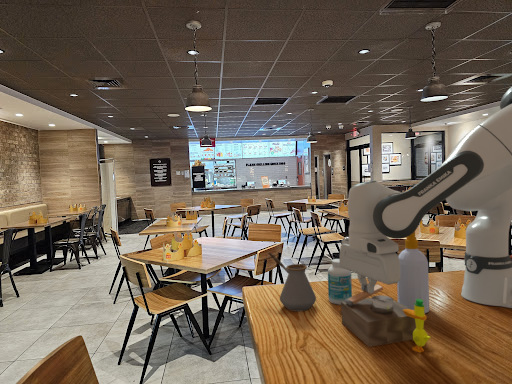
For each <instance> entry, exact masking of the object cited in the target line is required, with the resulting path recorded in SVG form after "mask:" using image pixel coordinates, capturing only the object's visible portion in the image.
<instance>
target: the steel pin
mask: <svg viewBox="0 0 512 384" xmlns="http://www.w3.org/2000/svg"><path fill="white" fill-rule="evenodd" d="M371 298H372V311H373V312H375V313H377V314H383V315H388V314H392V313H393V312H394V311H393V300H394V298H392V297H391V296H388V295H374V296H373V295H372V296H371Z"/></svg>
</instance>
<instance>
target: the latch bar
mask: <svg viewBox="0 0 512 384" xmlns="http://www.w3.org/2000/svg"><path fill="white" fill-rule="evenodd" d="M383 290H384V288H383V286H382V285H380V284H377V283H376V284H375V286H374V293H371V294H370V293H368V292H365V291H363V290H362V291H360V292H359V293H357V294H355V295H352V297H350V298H348V299H347V298H346V299H345V302H346V303H347V304H348V305H350V306H353V304H355V303H357V302H359V301H361V300H363V299H366V298H370V297H372V296H373V295H375V294H377V293H379V292H382V291H383Z"/></svg>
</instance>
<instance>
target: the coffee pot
mask: <svg viewBox="0 0 512 384" xmlns="http://www.w3.org/2000/svg"><path fill="white" fill-rule="evenodd" d="M268 255H269V256H268ZM266 256H267V259H268V258H270V257H271V259H272V260H274V262H275V263H276V264H277V265H279V267H280V268H282V269H283V270H285V272H286V274H288V275H287V277H286V280H285V282H284V284H283V288H282V290H281V294H280V296H279V300H280V303H281V304H282V305H283V306H284V307H285V308H286V309H287V310H288V311H292V312H304V311H305V312H306V311H308V310H310V309H311V307H313V306H314V305H315V303H316V302H317V297H316V293H315V292H314V290H313V288H312V285H311V283H310V281H309V279H308V276H307V275H306V270H307V268H308V266H307V265H306V264H298V263H296V264H289V265H287V266H285V265H284V264H283V262H282V261H280V259H279V258H277V257H276V256H275V255H274V254H273V253H271V252H268V253H267V254H266Z"/></svg>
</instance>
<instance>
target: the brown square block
mask: <svg viewBox="0 0 512 384" xmlns="http://www.w3.org/2000/svg"><path fill="white" fill-rule="evenodd" d="M340 306H341V307H340V308H341V310H340V311H341V324H342V325H343V326H344V327H346V328H347V329H348V330H349V331H351V332H352V333H353V334H354V335H355V336H356V337H357V338H358V339H359V340H361V341H362V342H363V343H364V344H365V345H366V346H368V347H375V346H383V345H388V344H392V343H393V344H394V343H400V342H406V341H413V331H414V330H415V329H416V323H415V319H414V318H411V317H409V316H406V315H405V313H404V312H403V310H404V309H409V308H407V307H405V306H404V305H402V304H400V303H398V301H397V300H395V299H393V311H394V312H393V313H392V314H388V315H383V314H377V313H375V312H373V311H372V297H367V298H365V299H363V300H361V301H359V302H357V303H355V304H353V306H350V305H348V304H347V303H346V302H345V301H344V302H341V305H340Z"/></svg>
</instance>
